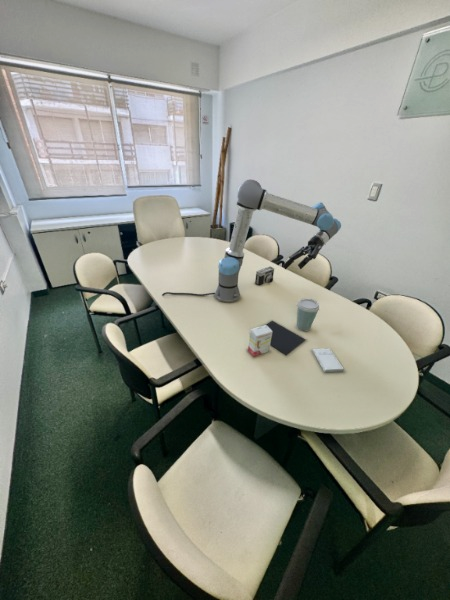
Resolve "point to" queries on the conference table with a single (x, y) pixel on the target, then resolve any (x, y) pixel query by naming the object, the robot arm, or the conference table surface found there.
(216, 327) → the conference table surface
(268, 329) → the ink box
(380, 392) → the conference table surface
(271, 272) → the camera
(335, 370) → the hard drive
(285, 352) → the mat
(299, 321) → the disposable coffee cup
